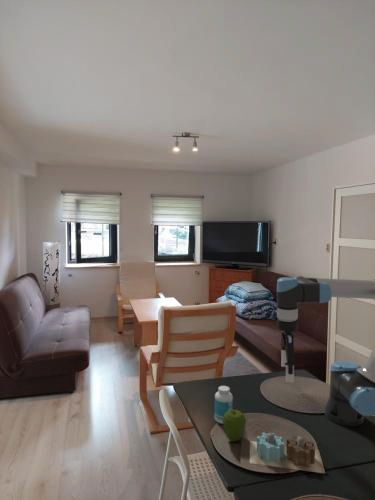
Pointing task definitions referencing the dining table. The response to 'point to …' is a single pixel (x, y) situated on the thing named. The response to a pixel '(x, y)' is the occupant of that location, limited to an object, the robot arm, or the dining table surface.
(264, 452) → the gear
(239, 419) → the apple
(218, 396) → the pill bottle
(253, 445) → the gear board
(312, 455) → the gear
